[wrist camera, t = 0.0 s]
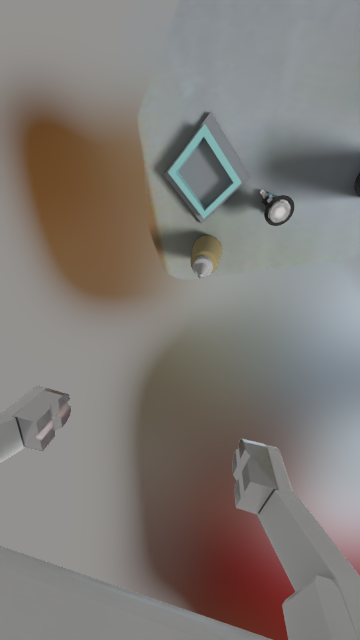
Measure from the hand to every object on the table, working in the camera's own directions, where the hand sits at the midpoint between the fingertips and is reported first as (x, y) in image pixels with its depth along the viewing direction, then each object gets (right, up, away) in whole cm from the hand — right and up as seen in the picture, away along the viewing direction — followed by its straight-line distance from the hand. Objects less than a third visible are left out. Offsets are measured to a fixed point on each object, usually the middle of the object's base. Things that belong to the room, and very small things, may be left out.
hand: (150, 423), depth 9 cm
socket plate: (+7, +38, +35) cm, 52 cm away
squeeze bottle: (+10, +26, +45) cm, 53 cm away
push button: (+23, +33, +36) cm, 54 cm away
